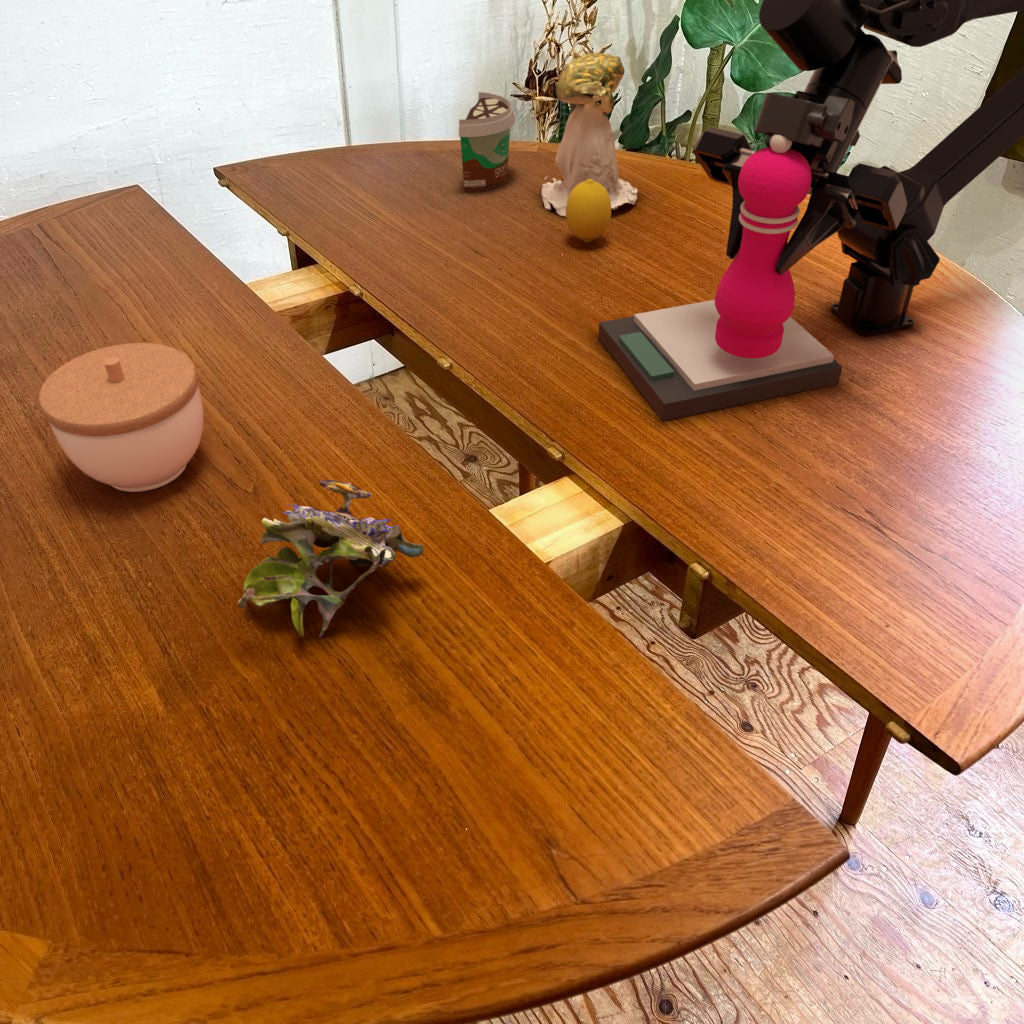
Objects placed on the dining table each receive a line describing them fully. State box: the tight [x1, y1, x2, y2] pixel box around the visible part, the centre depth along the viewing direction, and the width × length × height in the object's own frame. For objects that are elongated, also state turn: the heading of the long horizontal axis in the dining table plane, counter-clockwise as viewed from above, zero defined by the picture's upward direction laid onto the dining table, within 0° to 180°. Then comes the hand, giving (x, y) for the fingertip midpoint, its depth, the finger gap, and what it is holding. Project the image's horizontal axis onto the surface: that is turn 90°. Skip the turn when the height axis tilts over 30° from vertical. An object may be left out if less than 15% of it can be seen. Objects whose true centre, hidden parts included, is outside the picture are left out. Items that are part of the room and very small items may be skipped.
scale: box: [598, 299, 843, 422], centre depth 97 cm, size 19×16×3 cm
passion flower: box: [237, 479, 425, 638], centre depth 71 cm, size 11×11×12 cm
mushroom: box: [541, 52, 639, 218], centre depth 123 cm, size 12×13×18 cm
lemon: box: [565, 179, 612, 244], centre depth 117 cm, size 6×6×8 cm
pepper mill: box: [714, 134, 812, 358], centre depth 85 cm, size 7×7×20 cm
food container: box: [458, 91, 516, 193], centre depth 132 cm, size 12×6×10 cm, turn 168°
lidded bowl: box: [38, 342, 205, 493], centre depth 82 cm, size 13×13×11 cm
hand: (753, 264), depth 85 cm, fingers closed on pepper mill, 4 cm apart
